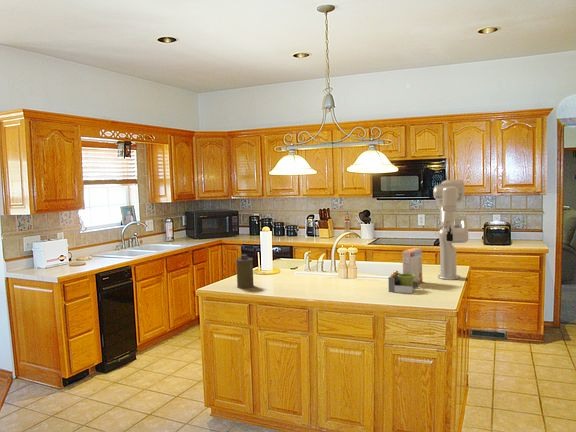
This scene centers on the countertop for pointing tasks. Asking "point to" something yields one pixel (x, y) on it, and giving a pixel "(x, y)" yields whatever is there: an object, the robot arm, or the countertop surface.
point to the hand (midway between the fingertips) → (449, 240)
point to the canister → (244, 272)
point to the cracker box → (413, 263)
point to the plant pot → (406, 279)
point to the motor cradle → (397, 288)
